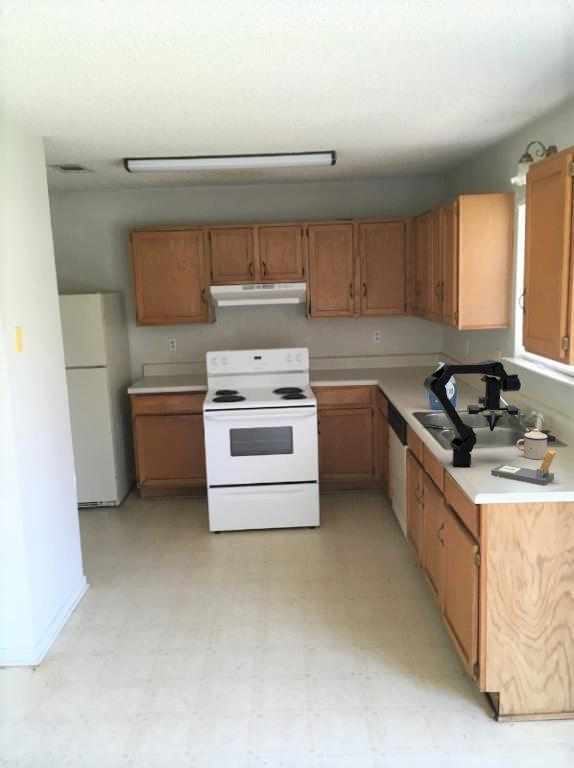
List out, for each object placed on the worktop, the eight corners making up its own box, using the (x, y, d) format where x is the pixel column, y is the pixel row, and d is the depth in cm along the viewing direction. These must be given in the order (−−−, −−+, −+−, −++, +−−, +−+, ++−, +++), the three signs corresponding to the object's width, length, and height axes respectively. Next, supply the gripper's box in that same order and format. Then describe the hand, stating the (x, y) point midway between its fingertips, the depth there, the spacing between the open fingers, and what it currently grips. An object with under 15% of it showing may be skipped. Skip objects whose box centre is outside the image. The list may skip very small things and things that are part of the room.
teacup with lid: (542, 453, 262) (544, 426, 260) (549, 460, 253) (551, 432, 251) (513, 453, 264) (514, 426, 262) (518, 459, 255) (520, 431, 253)
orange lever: (536, 474, 227) (547, 451, 223) (541, 471, 230) (551, 449, 227) (541, 477, 226) (552, 454, 222) (546, 474, 229) (556, 451, 225)
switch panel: (491, 475, 235) (491, 461, 235) (501, 468, 243) (502, 455, 242) (544, 485, 223) (545, 471, 222) (553, 478, 230) (554, 465, 229)
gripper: (513, 388, 253) (511, 426, 256) (465, 388, 256) (464, 426, 258) (519, 394, 242) (517, 433, 245) (469, 393, 245) (468, 432, 247)
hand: (491, 431), depth 249 cm, fingers closed
